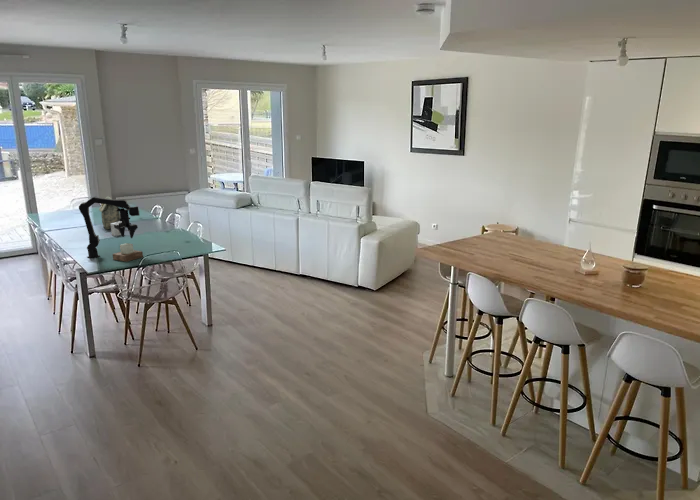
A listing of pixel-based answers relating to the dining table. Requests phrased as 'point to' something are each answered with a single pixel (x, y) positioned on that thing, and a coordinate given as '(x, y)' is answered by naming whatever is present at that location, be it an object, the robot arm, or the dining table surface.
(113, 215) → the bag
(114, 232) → the small box
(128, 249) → the sage cube
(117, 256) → the walnut block
